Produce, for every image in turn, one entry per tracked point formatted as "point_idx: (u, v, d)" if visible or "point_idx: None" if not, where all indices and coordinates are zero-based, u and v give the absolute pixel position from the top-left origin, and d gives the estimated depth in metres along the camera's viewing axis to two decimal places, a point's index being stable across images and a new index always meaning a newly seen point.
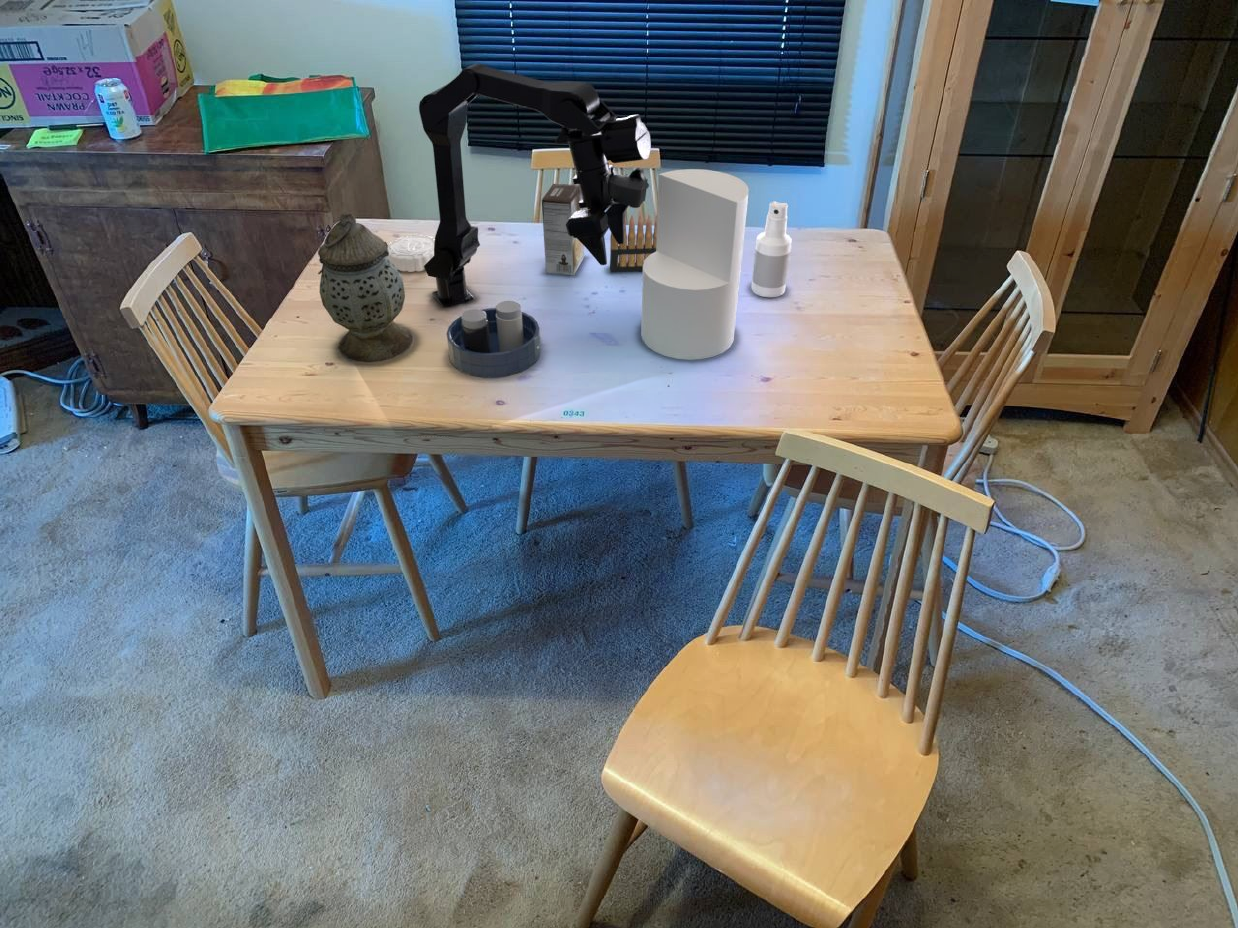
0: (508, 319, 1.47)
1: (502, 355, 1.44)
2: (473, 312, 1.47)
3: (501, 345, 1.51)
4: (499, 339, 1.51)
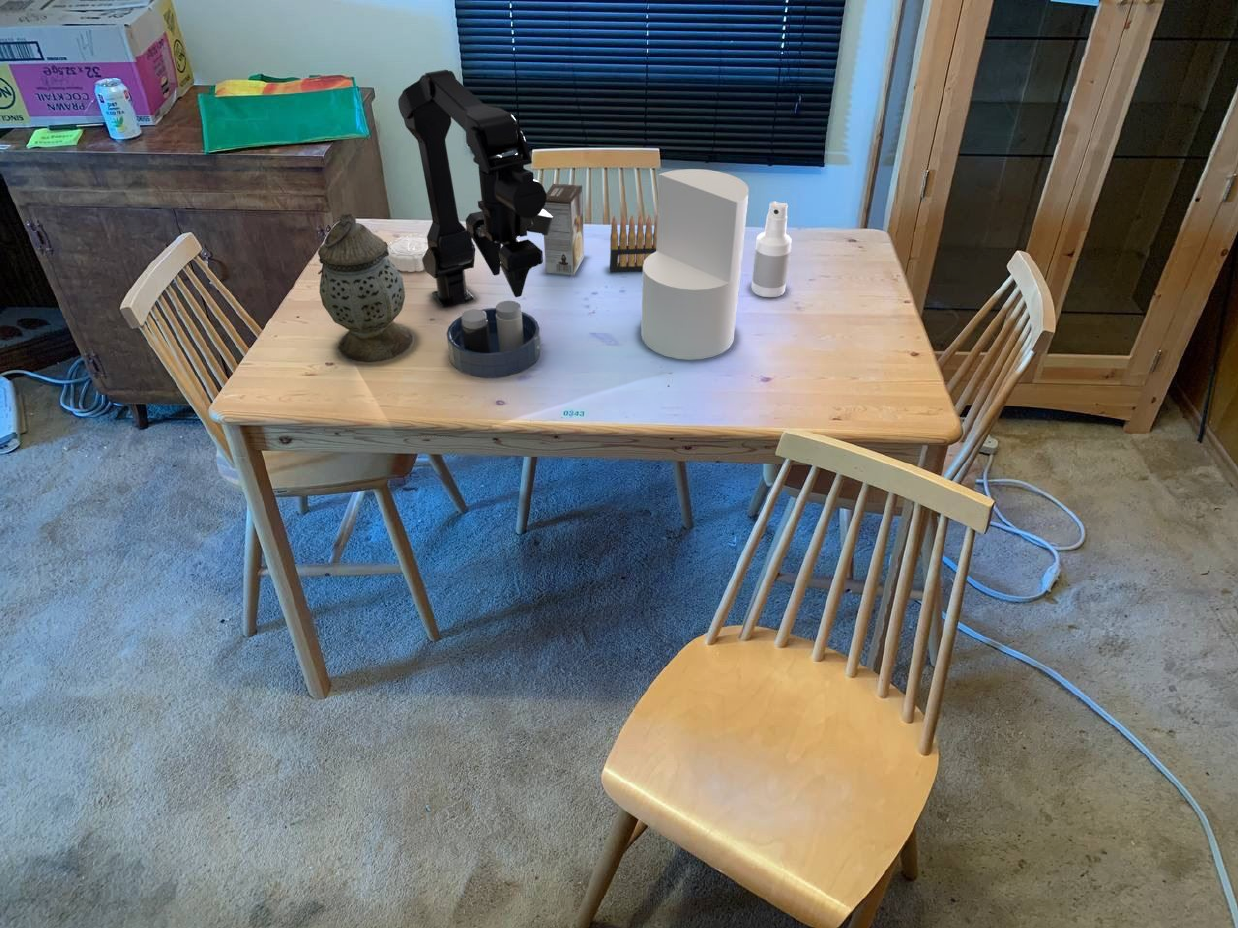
0: (508, 319, 1.47)
1: (502, 355, 1.44)
2: (473, 312, 1.47)
3: (501, 345, 1.51)
4: (499, 339, 1.51)
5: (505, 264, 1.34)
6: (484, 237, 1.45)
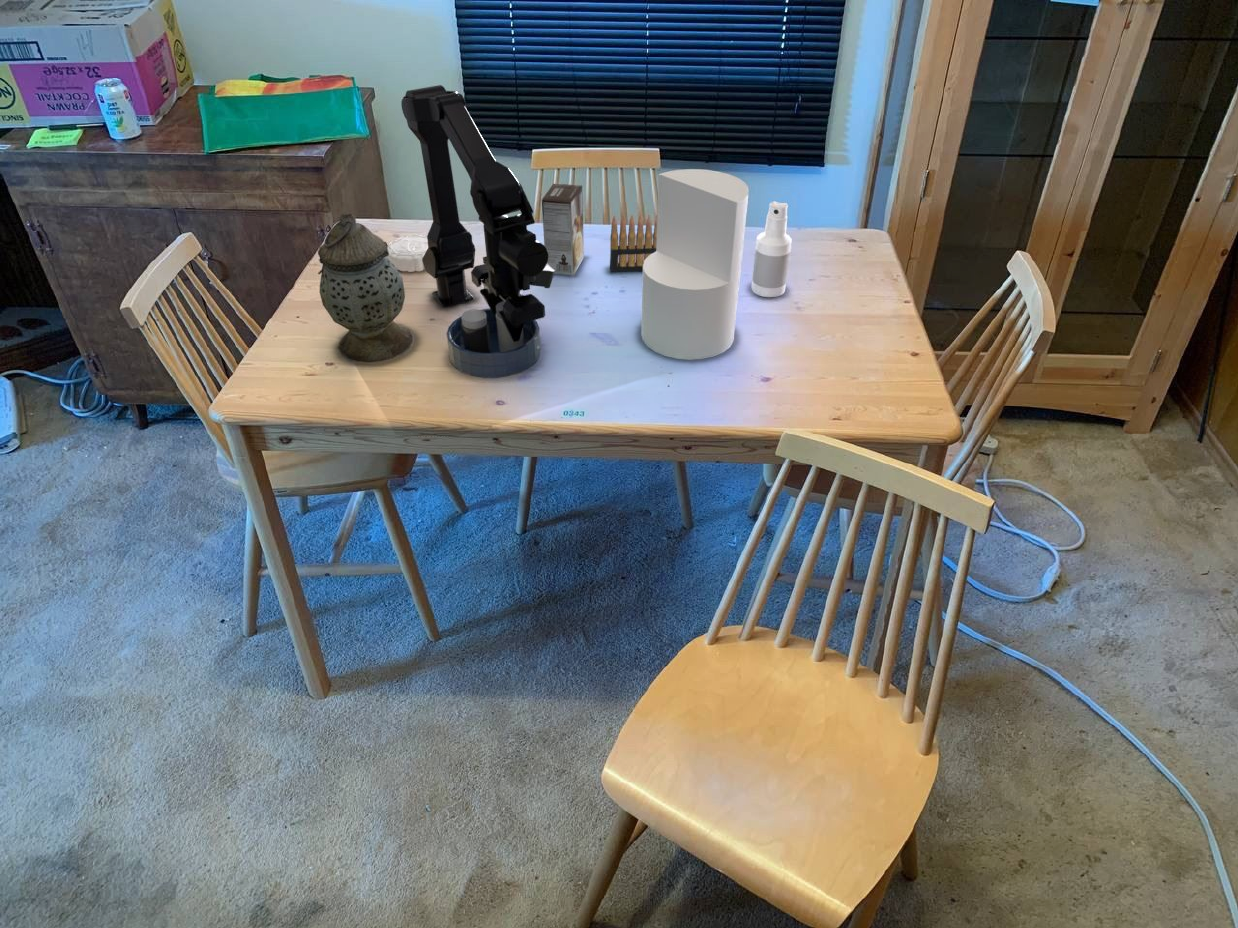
0: None
1: (502, 355, 1.44)
2: (473, 312, 1.47)
3: (501, 345, 1.51)
4: (499, 339, 1.51)
5: (509, 318, 1.40)
6: (493, 294, 1.49)
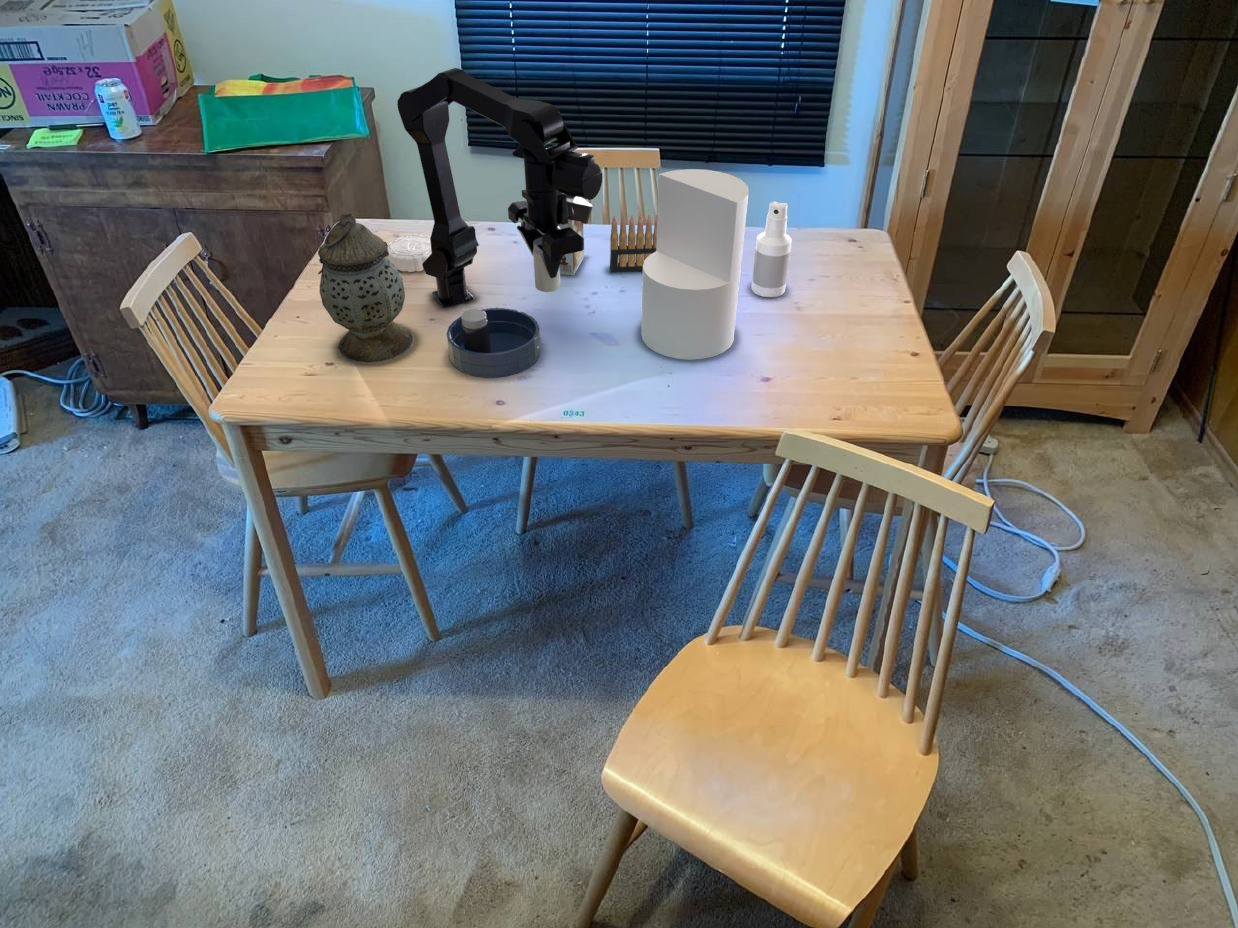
0: None
1: (502, 355, 1.44)
2: (473, 312, 1.47)
3: (537, 282, 1.51)
4: (536, 276, 1.51)
5: (548, 250, 1.40)
6: (531, 230, 1.49)
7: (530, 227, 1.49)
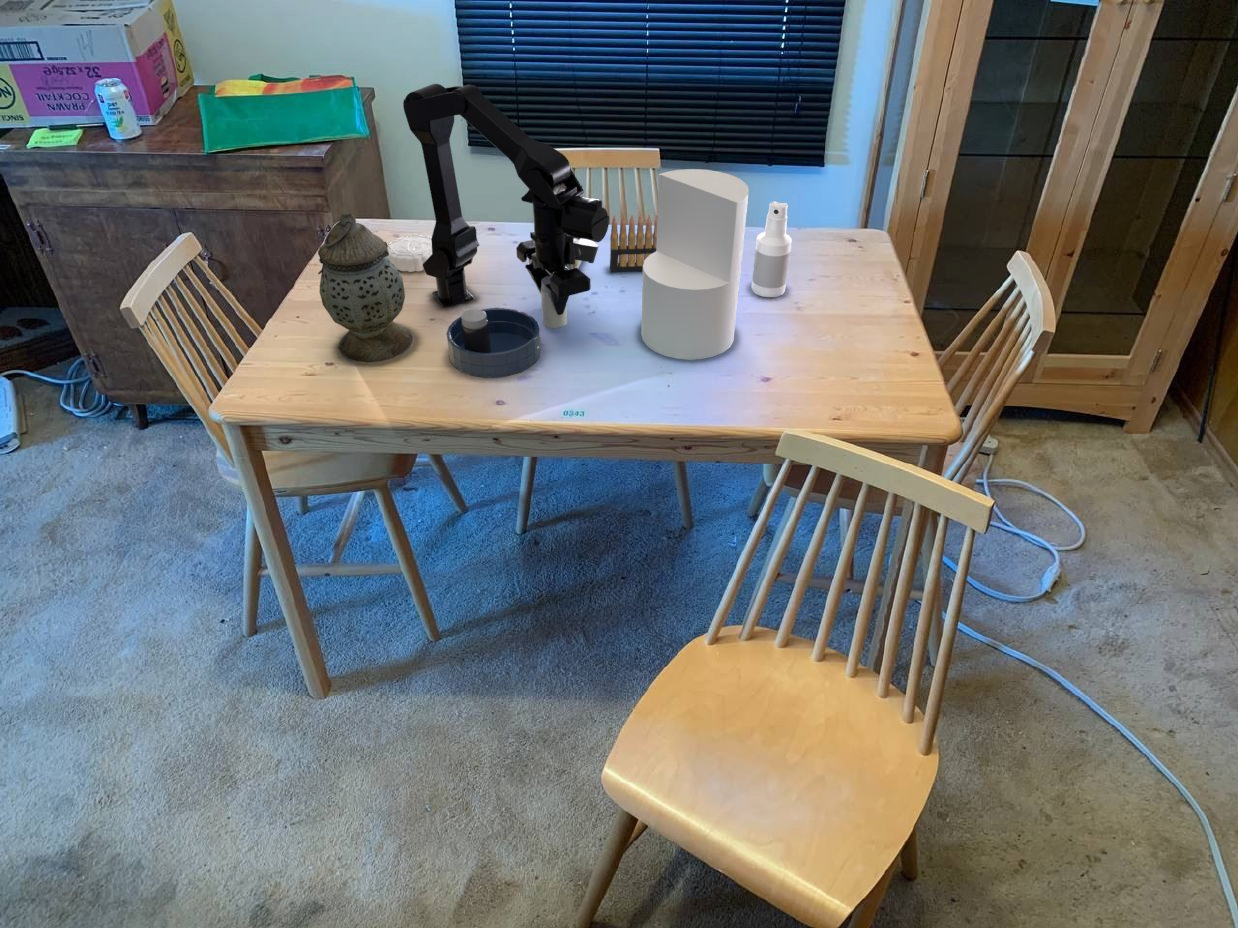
0: None
1: (502, 355, 1.44)
2: (473, 312, 1.47)
3: (545, 319, 1.57)
4: (543, 313, 1.56)
5: (556, 291, 1.46)
6: (538, 269, 1.54)
7: (538, 266, 1.54)
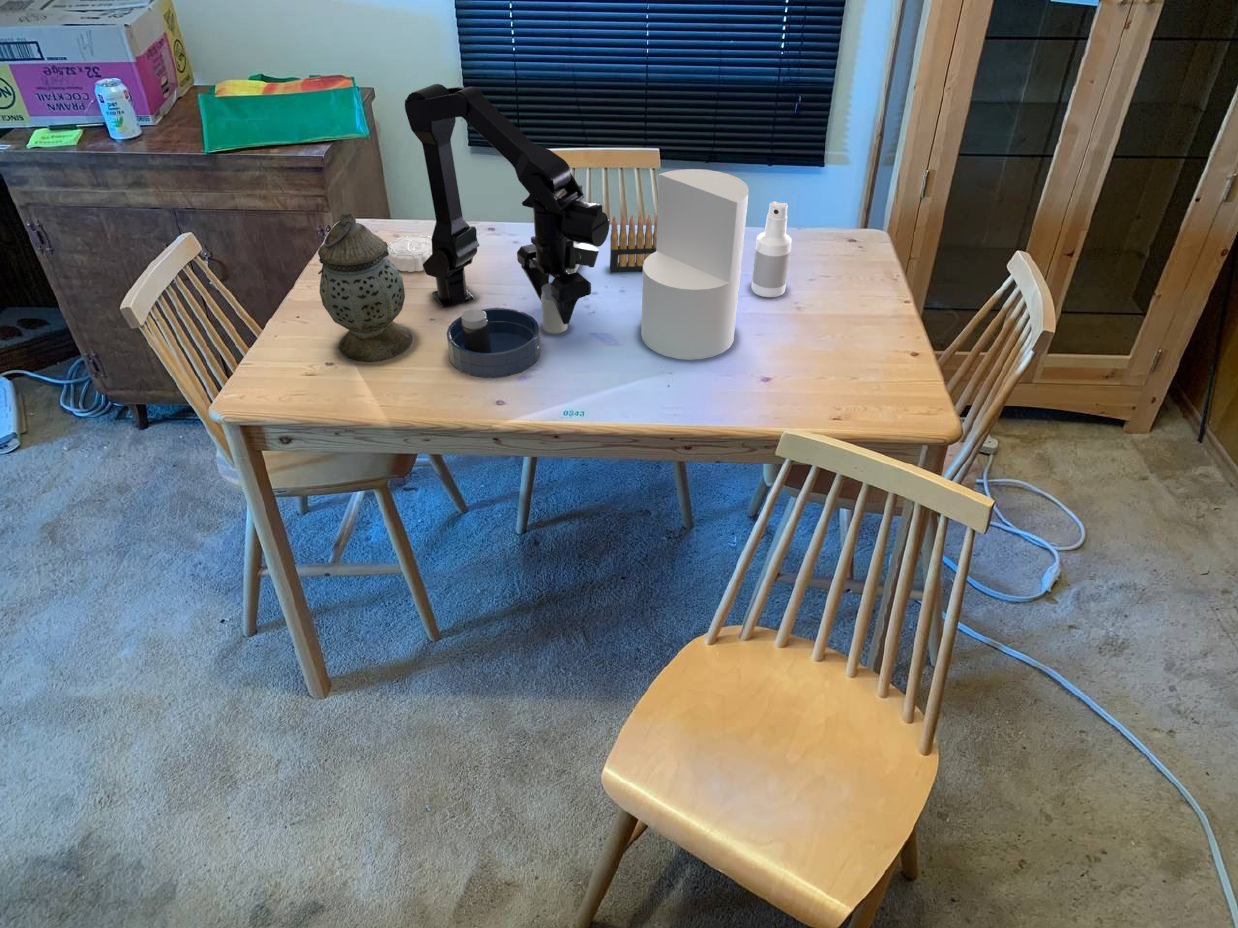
0: None
1: (502, 355, 1.44)
2: (473, 312, 1.47)
3: (545, 326, 1.58)
4: (544, 320, 1.57)
5: (557, 295, 1.46)
6: (534, 268, 1.56)
7: (534, 266, 1.56)
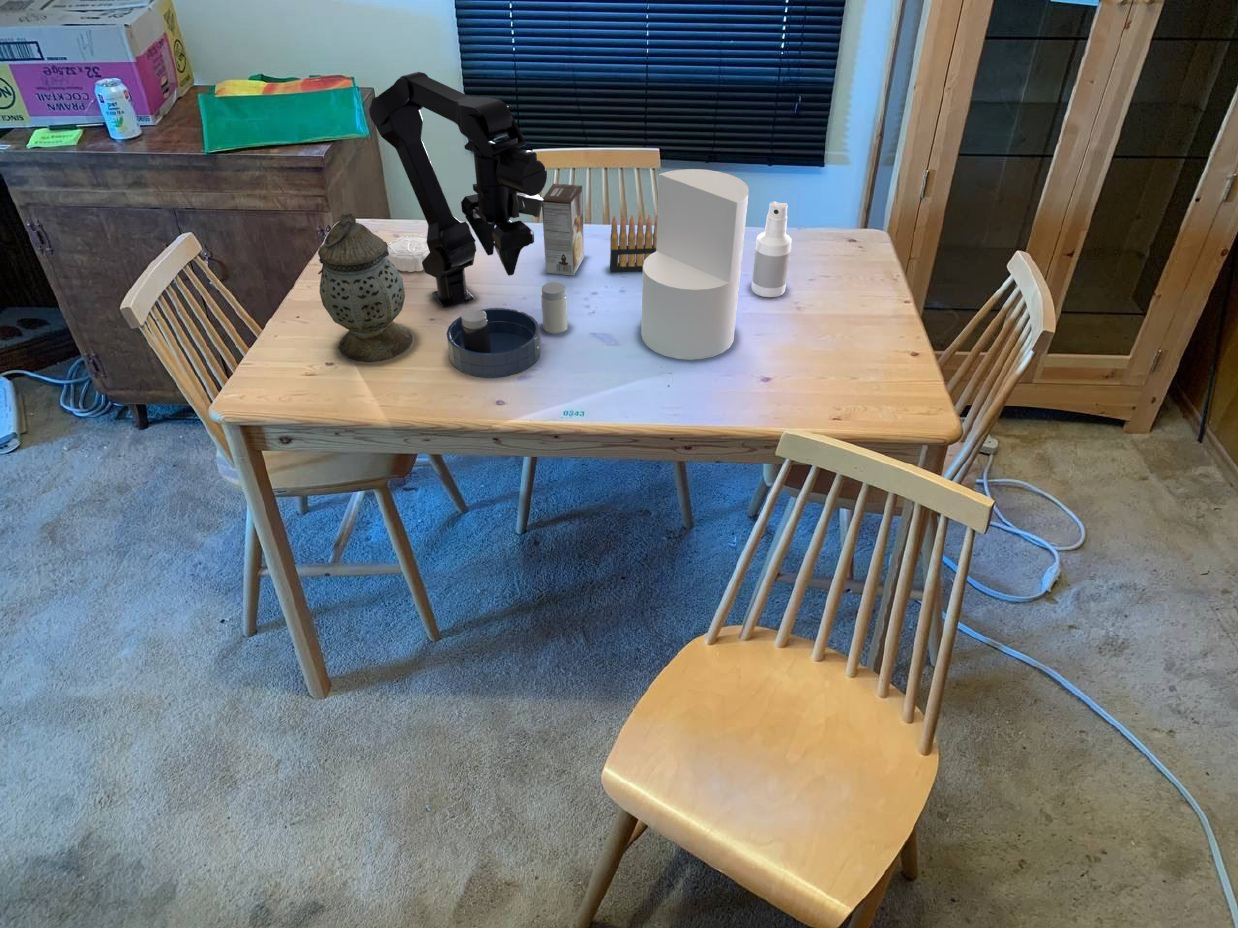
0: (553, 300, 1.54)
1: (502, 355, 1.44)
2: (473, 312, 1.47)
3: (545, 326, 1.58)
4: (544, 320, 1.57)
5: (498, 243, 1.43)
6: (478, 219, 1.53)
7: (478, 216, 1.53)
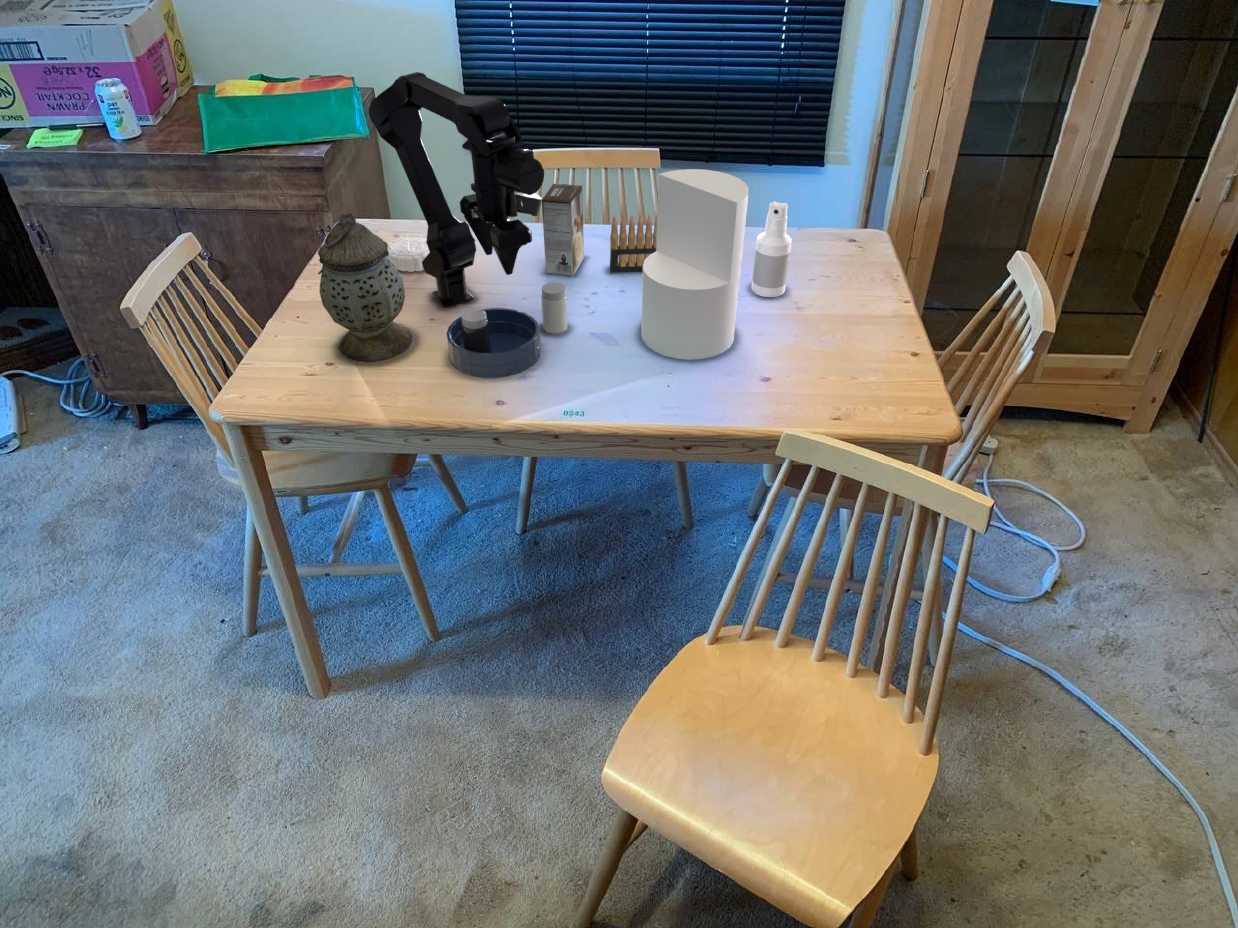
0: (553, 300, 1.54)
1: (502, 355, 1.44)
2: (473, 312, 1.47)
3: (545, 326, 1.58)
4: (544, 320, 1.57)
5: (496, 242, 1.43)
6: (477, 218, 1.53)
7: (477, 216, 1.53)
